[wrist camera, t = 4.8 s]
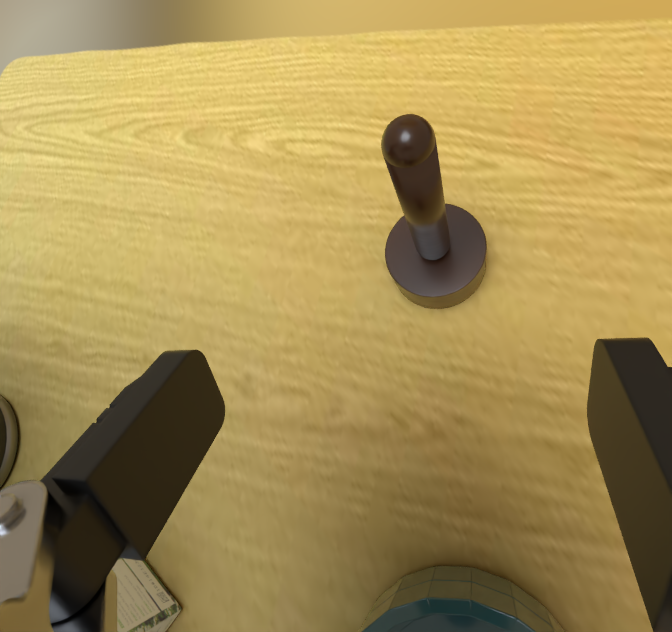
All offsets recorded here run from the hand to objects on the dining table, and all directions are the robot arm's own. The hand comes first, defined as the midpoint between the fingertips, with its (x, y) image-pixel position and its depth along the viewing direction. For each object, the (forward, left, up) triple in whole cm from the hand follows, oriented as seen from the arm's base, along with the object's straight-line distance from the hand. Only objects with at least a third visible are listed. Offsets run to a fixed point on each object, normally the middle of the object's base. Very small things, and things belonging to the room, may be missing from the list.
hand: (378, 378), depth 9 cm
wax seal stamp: (-7, +6, -20) cm, 22 cm away
